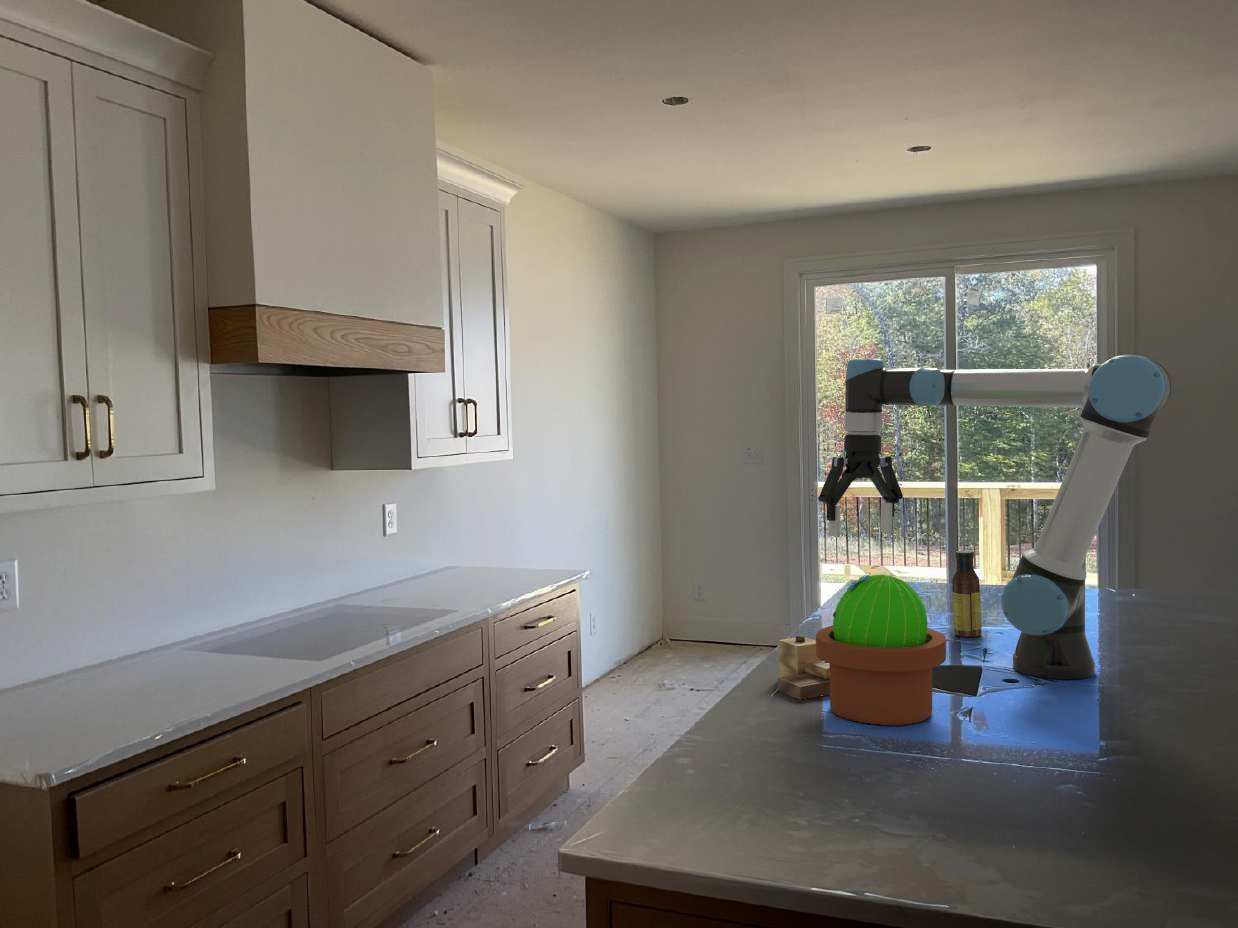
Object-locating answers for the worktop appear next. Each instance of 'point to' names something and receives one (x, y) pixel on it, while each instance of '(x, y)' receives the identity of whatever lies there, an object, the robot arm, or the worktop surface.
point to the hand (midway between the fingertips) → (860, 534)
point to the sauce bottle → (966, 597)
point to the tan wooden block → (800, 658)
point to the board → (804, 686)
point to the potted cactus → (881, 653)
